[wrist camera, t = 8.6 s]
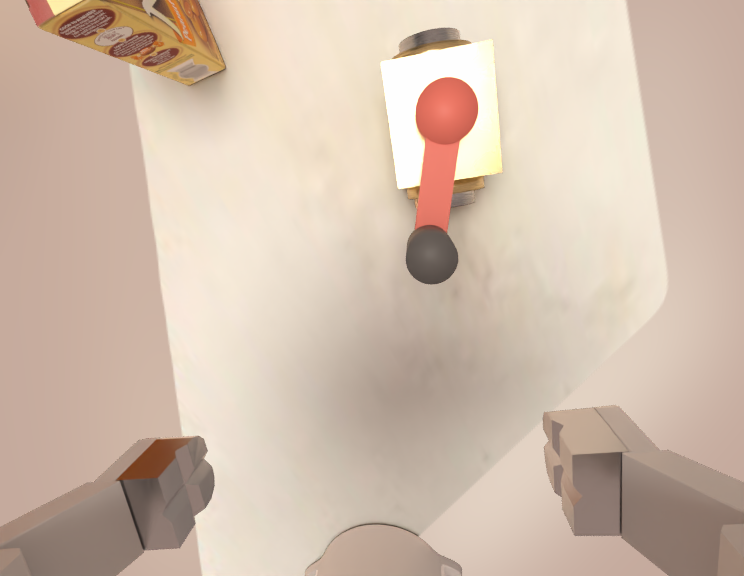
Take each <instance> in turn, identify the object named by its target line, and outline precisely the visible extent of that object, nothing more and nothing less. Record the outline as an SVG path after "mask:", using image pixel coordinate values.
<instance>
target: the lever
mask: <svg viewBox="0 0 744 576" xmlns="http://www.w3.org/2000/svg"><path fill="white" fill-rule="evenodd" d="M478 109H479V108H478V100H477V97H476V94H475V92H474V91H473V89H472V88H471V86H470V85H469V84H467V83H466V82H465V81H463V80H461V79H459V78H456V77H442V78H439V79H436V80H434V81H433V82H431V83H430V84H428V85H427V86H426V87H425V88H424V89H423V91H422V92H421V94H420V96H419V98H418V100H417V104H416V110H415V121H416V125H417V128H418V130H419V132H420V134H421V135H422V136H423V137H424V138H425V147H424V155H423V164H422V172H421V181H420V189H419V198H418V207H417V215H416V224H415V231H413V233H412V234H411V235H410V237H409V239H408V242H407V252H406V264H407V268H408V270H409V272H410V274H411V275H412V276H413V277H414V278H415V279H416V280H418V281H420V282H422V283H425V284H438V283H441V282H443V281H445V280H447V279H448V278H449V277H450V276H451V275H452V274H453V273H454V271H455V269H456V267H457V264H458V253H457V250H456V248H455V246H454V244H453V242H452V241H451V239H450V237H449V235H448V234H447V229H448V222H449V215H450V208H451V200H452V193H453V186H454V179H455V172H456V165H457V157H458V150H459V143H460V140H461V139H463V138H464V137H465V136H466V135H467V134H468V133H469V132H470V131H471V130H472V128H473V127H474V125H475V123H476V120H477V117H478Z"/></svg>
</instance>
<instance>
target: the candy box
mask: <svg viewBox="0 0 744 576" xmlns="http://www.w3.org/2000/svg"><path fill="white" fill-rule="evenodd" d="M25 1H26V3H27V5H28V7H29V11H30V12H31V15H32V17H33V18H34V20H35V23H36V25H37V27H38V28H40V29H42V30H44V31H47V32H50V33H52V34H55V35H57V36H60V37H63V38H65V39H68V40H71V41H73V42H76V43H78V44H81V45H84V46H87V47H90V48H92V49H95V50H97V51H99V52H102V53H105V54H107V55H110V56H113V57H115V58H118V59H121V60H123V61H126V62H128V63H131V64H133V65H136V66H139V67H141V68H144V69H147V70H149V71H152V72H154V73H157V74H160V75H162V76H165V77H168V78H170V79H173V80H175V81H178V82H181V83H183V84H186V85H191V84H193V83H195V82H197V81H199V80H201V79H204V78H206V77H208V76H210V75H212V74H214V73H217V72H219V71H221V70H223V69H225V64H224V62H223V59H222V57H221V54H220V52H219V50H218V47H217V45H216V42H215V40H214V37H213V35H212V33H211V30H210V28H209V26H208V23H207V21H206V18H205V16H204V14H203V12H202V9H201V7H200V5H199V2H198V0H25Z"/></svg>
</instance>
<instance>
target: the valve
mask: <svg viewBox="0 0 744 576" xmlns="http://www.w3.org/2000/svg"><path fill="white" fill-rule="evenodd" d="M399 51H400V53H399V54H398V55H396V56H395V57H393V58H392V59H391V60H389V61H384V62H381V68H382V75H383V82H384V90H385V97H386V104H387V111H388V119H389V126H390V133H391V141H392V148H393V155H394V162H395V170H396V177H397V184H398V189H402V188H407V194H408V199H415V207H416V208H417V207H418V198H419V189H420V181H421V172H422V164H423V155H424V147H425V138H424V137H423V136H422V135H421V134H420V132H419V130H418V128H417V125H416V121H415V110H416V104H417V100H418V98H419V96H420V94H421V92H422V91H423V89H424V88H425V87H426V86H427V85H428V84H430V83H431V82H433V81H434V80H436V79H439V78H442V77H456V78H459V79H461V80H463V81H465V82H466V83H467V84H469V85H470V86H471V88H472V89H473V91H474V92H475V94H476V97H477V100H478V108H479V109H478V117H477V120H476V123H475V125H474V127H473V128H472V130H471V131H470V132H469V133H468V134H467V135H466V136H465V137H464V138H463V139H461V140H460V143H459V150H458V157H457V165H456V172H455V179H454V186H453V193H452V200H451V207H457V206H462V205H467V204H471V203H474V202H475V195H474V190H477V189H481V188H484V175H490V174H496V173H502V161H501V147H500V134H499V120H498V107H497V93H496V80H495V66H494V53H493V39H492V40H487V41H482V42H478V43H473V44H472V43H471V42H469V41H466V40H460V33H459V31H458V30H457V29H454V28H437V29H431V30H427V31H423V32H420V33H417V34H414V35H412V36H409V37H407V38H406V39H404V40H403V41H402V42H401V43H400V44H399Z"/></svg>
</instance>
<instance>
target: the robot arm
mask: <svg viewBox="0 0 744 576" xmlns="http://www.w3.org/2000/svg"><path fill="white" fill-rule="evenodd" d="M543 430H544V432H545V434H546V436H547V438H548V440H549V441H548V442H547V444H546V445H545V446H544V452H545V462H546V468H547V473H548V476H549V479H550V483H551V485H552V487H553V490H554V492H555V493H556V494H558V495H559V496H561V497H562V510H563V512H564V514H565V516H566V518H567V520H568V523H569V525H570V527H571V529H572V531H573V533H574V535H575V536H622V538H623V539H624V540H625V541H626V542H628V543H629V544H630V545H631V546H632V547H634V548H635V549H636V550H637V551H639V552H640V553H641V554H642V555H644V556H645V557H646V558H647V559H649V560H650V561H651V562H652V563H654V564H655V565H656V566H657V567H658V568H660V569H661V570H662V571H663V572H665V573H666V574H667V575H669V576H744V482H742V481H740V480H737V479H735V478H733V477H730V476H728V475H726V474H723V473H721V472H719V471H716V470H714V469H712V468H709V467H707V466H705V465H702V464H700V463H698V462H695V461H693V460H690V459H688V458H686V457H684V456H681V455H679V454H677V453H674V452H672V451H669V450H659V448H658V447H656V445H655V444H654V443H653V442H652V441H651V440H650V439H649V438H648V437H647V436H646V435H645V434H644V433H643V431H642V430H641V429H639V427H638V426H637V425H636V424H635V423H634V422H633V421H632V420H631V418H630V417H629V416H628V415H627V414H626V413H625V412H624V411H623V410H622V409H621V408H620V407H619V406H616V405H611V406H602V407H592V408H583V409H572V410H562V411H551V412H544V414H543ZM207 451H208V450H207V447H206V444H205V441H204V439H203V438H201V437H200V436H182V437H163V438H160V437H159V438H147V439H142V440H138V441H137V442H136V443H135V444H134V445H133V446H132V447H131V448H130V449H128V450H127V451H126V452H125V453H124V454H123V455H122V456H121V457H120V458H119V459H118V460H117V461H115V463H113V464H112V465H111V466H110V467H109V468H108V469H107V470H106V471H105V472H104V473H103V474H102V475H100V476H99V477H98V478H97V479H96V480H95V481H94V482H91V483H85V484H84V485H81V486H80V487H78V488H76V489H74V490H72V491H70V492H68V493H66V494H64V495H62V496H60V497H58V498H56V499H54V500H52V501H50V502H48V503H46V504H44V505H42V506H40V507H38V508H36V509H34V510H32V511H30V512H28V513H27V514H24V515H22V516H21V517H19V518H17V519H15V520H13V521H11V522H9V523H7V524H5V525H3V526H1V527H0V576H116V575H118V574H119V573H120V572H121V571H122V570H124V569H125V568H126V567H127V566H128V565H129V564H131V563H132V562H133V561H134V560H135V559H137V558H138V557H139V556H140V555H141V554H142V553H144V550H158V549H174V548H180V547H181V545H182V544H183V542H184V541H185V539H186V537H187V536H188V534H189V533H190V531H191V530H192V528H193V527H194V525H195V524H196V523H195V517H194V516H195V515H197V514H198V513H199V512H201V511H202V510H203V509H205V508H206V506H207V505H208V503H209V501H210V500H211V498H212V494H213V490H214V486H215V485H214V473H213V469H212V466H211V465H210V464H209V463H208V462H207V461H206V460H205V459H204V458H205V456H206V453H207ZM305 576H462V568H461V566H460V565H459V564H458V563H456V562H455V561H452V560H451V559H448V558H446V557H444V556H441V555H439V554H438V553H437V552H435V551H434V550H433V549H432V548H431V547H430V546H429V545H428V544H427V543H426V542H425V541H423V540H422V539H421V538H419V537H418V536H416V535H414V534H413V533H411V532H409V531H406V530H404V529H401V528H397V527H393V526H388V525H364V526H359V527H356V528H353V529H350V530H348V531H346V532H344V533H342V534H340V535H339V536H338V537H336V538H335V539H334V540H333V541H332V542H331V543H330V545H329V546H328V548H327V549H326V551H325V553H324V555H323V556H322V558H321V559H320V560H318V561H317V562H315V563H314V564H312V565H311V566H309V567H308V568H307V570H306V572H305Z"/></svg>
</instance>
